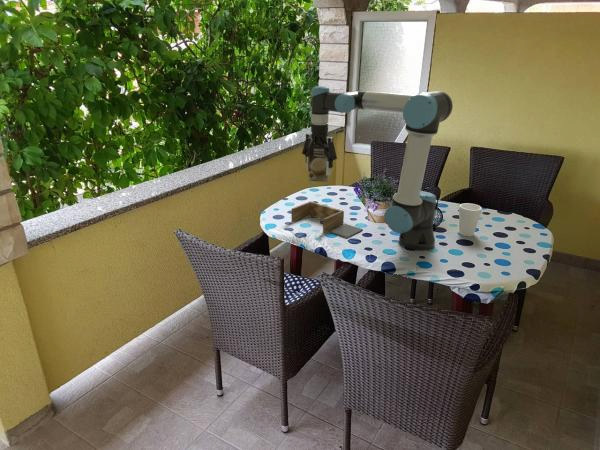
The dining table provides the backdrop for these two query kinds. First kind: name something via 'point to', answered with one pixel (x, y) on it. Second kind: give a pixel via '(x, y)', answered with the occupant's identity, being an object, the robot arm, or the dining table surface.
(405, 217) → the robot arm
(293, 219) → the wooden u-shaped bracket
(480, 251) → the dining table surface
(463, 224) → the foam cup
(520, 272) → the dining table surface
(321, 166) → the coffee box
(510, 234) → the dining table surface
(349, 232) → the coaster
